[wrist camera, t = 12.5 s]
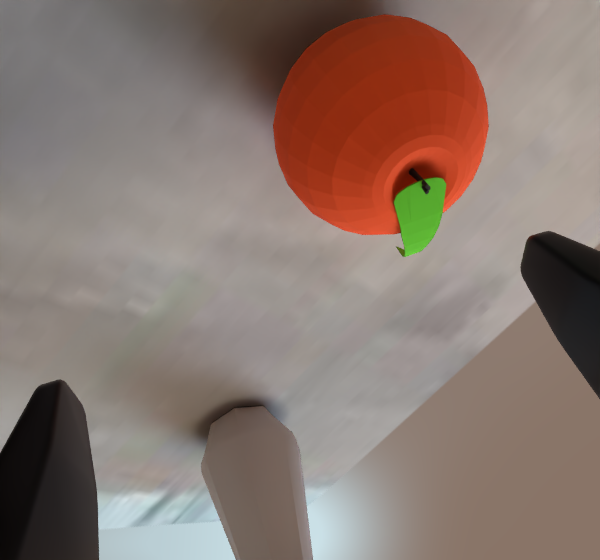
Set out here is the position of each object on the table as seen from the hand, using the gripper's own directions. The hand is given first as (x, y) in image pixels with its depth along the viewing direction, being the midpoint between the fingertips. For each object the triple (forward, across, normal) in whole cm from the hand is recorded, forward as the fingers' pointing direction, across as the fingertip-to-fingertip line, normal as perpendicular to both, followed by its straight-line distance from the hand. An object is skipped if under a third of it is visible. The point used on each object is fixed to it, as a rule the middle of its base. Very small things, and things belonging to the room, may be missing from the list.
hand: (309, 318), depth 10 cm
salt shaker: (+12, +3, +22) cm, 25 cm away
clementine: (+12, -5, +2) cm, 13 cm away
